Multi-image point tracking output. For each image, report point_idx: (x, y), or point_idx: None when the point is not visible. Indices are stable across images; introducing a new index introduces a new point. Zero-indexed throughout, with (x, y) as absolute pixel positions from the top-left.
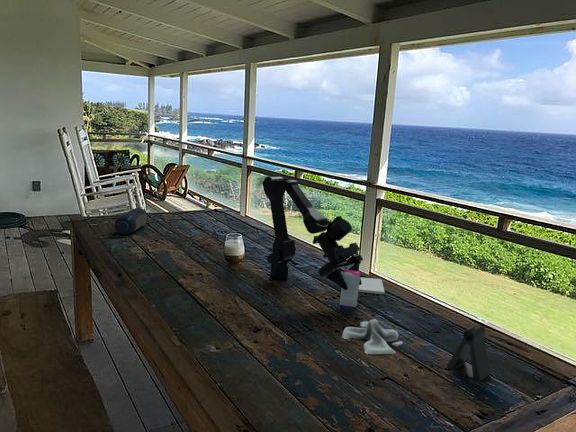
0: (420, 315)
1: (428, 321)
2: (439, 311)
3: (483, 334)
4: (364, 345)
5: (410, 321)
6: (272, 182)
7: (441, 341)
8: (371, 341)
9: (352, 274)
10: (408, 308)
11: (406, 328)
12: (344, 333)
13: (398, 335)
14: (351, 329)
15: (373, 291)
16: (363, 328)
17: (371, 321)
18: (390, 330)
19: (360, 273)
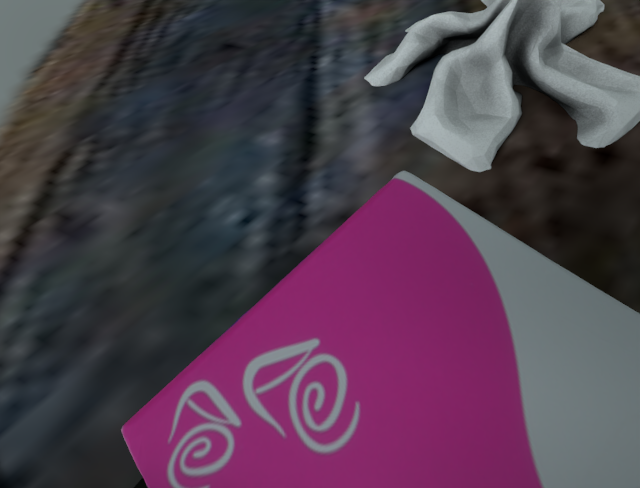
0: (137, 144)
1: (169, 101)
2: (28, 147)
3: None
4: (596, 14)
5: (233, 118)
6: None
7: (279, 10)
8: (564, 7)
9: (513, 301)
10: (98, 214)
11: (306, 84)
12: None
13: (385, 57)
14: (609, 90)
15: None
16: (544, 72)
17: None
18: (446, 12)
19: (211, 348)
